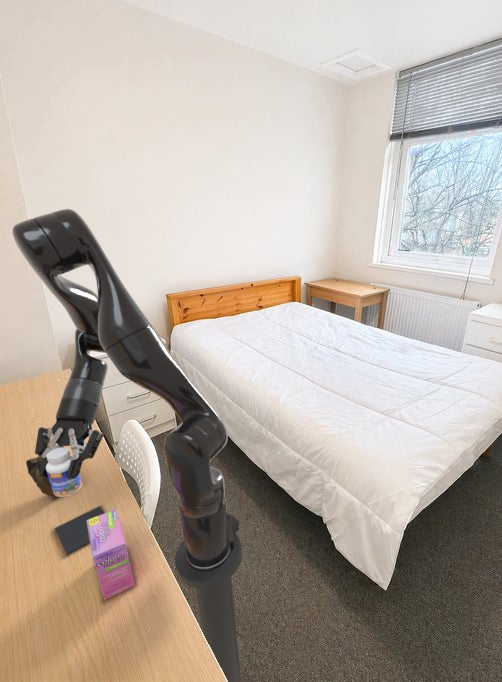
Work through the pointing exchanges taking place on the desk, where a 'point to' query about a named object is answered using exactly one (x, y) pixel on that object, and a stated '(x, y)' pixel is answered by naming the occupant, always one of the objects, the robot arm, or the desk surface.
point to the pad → (76, 531)
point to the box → (110, 553)
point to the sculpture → (41, 482)
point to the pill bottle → (61, 473)
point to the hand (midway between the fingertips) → (57, 477)
